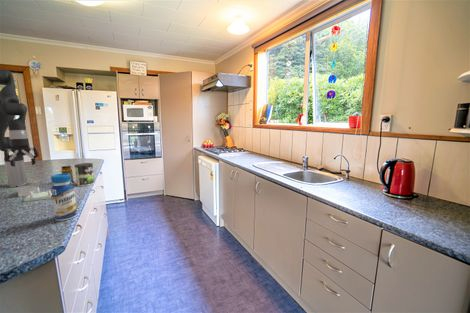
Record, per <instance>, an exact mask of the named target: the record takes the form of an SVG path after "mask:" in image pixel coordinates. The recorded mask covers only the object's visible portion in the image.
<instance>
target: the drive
mask: <svg viewBox="0 0 470 313" xmlns="http://www.w3.org/2000/svg"><path fill="white" fill-rule="evenodd" d="M36 188H39V189H40V186H39V181H38V180H35V181H27V183H25V184H23V185H21V186H18V187H16V189H17V196H18V198H22V196H24V197H27V196H29V195H30V192H33V193H37V189H36Z"/></svg>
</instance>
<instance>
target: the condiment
mask: <svg viewBox="0 0 470 313" xmlns="http://www.w3.org/2000/svg"><path fill="white" fill-rule="evenodd" d="M64 173H68V174H70V176H71V181H70V183H71V182H73V180H74V176H73V170H72V166H71V165H63V166H61V174H64ZM73 183H74V182H73ZM71 184H72V183H71Z"/></svg>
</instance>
